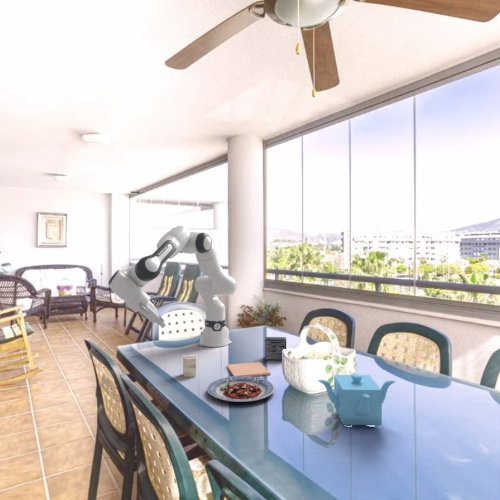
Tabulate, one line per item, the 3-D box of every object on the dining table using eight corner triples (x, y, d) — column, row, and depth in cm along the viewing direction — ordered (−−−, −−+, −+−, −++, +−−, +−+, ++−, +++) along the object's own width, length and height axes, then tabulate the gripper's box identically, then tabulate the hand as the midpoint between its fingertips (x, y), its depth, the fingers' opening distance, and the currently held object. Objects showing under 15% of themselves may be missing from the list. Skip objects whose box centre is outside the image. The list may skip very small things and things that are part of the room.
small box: (286, 357, 197) (286, 336, 196) (286, 361, 190) (286, 339, 190) (265, 356, 198) (265, 336, 197) (264, 360, 191) (264, 339, 191)
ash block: (183, 373, 172) (183, 355, 172) (194, 372, 173) (194, 354, 173) (184, 377, 167) (184, 359, 167) (196, 376, 168) (195, 358, 168)
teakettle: (347, 404, 139) (347, 363, 139) (398, 421, 125) (398, 375, 125) (315, 421, 126) (315, 375, 126) (368, 442, 112) (368, 391, 112)
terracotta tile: (226, 366, 181) (226, 364, 181) (259, 364, 185) (259, 361, 185) (234, 378, 166) (234, 375, 166) (270, 374, 170) (270, 372, 170)
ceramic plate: (288, 392, 151) (288, 384, 151) (241, 413, 132) (241, 404, 132) (240, 376, 168) (240, 370, 168) (193, 393, 150) (193, 386, 150)
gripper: (146, 300, 157) (170, 323, 159) (145, 294, 176) (167, 315, 179) (134, 311, 155) (159, 335, 158) (135, 304, 175) (157, 325, 178)
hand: (163, 324), depth 169 cm, fingers open, 8 cm apart
